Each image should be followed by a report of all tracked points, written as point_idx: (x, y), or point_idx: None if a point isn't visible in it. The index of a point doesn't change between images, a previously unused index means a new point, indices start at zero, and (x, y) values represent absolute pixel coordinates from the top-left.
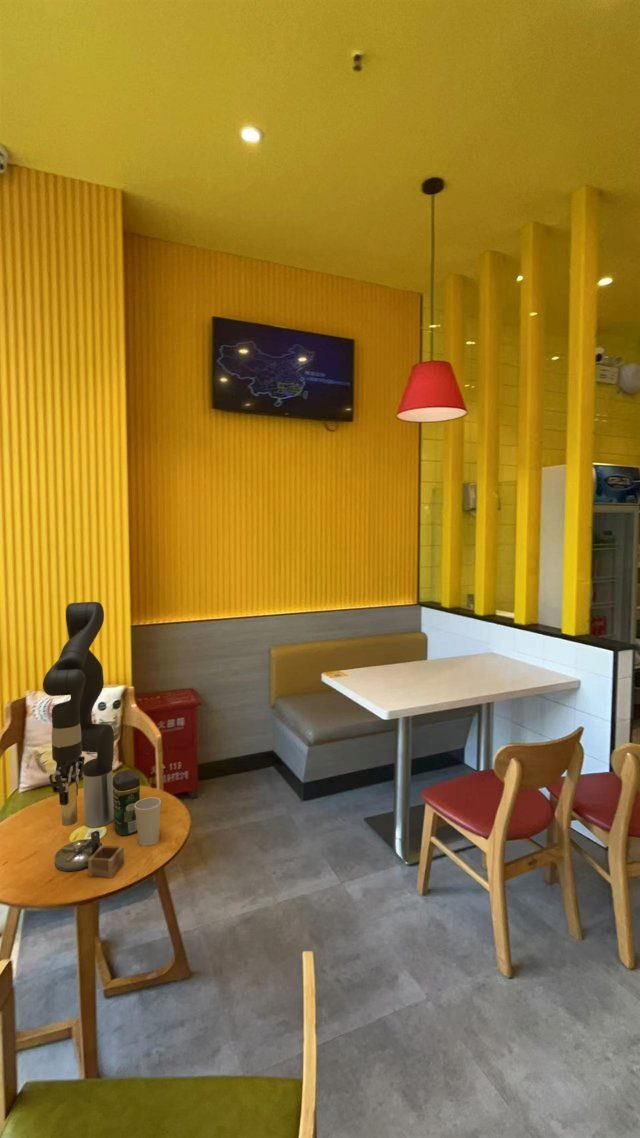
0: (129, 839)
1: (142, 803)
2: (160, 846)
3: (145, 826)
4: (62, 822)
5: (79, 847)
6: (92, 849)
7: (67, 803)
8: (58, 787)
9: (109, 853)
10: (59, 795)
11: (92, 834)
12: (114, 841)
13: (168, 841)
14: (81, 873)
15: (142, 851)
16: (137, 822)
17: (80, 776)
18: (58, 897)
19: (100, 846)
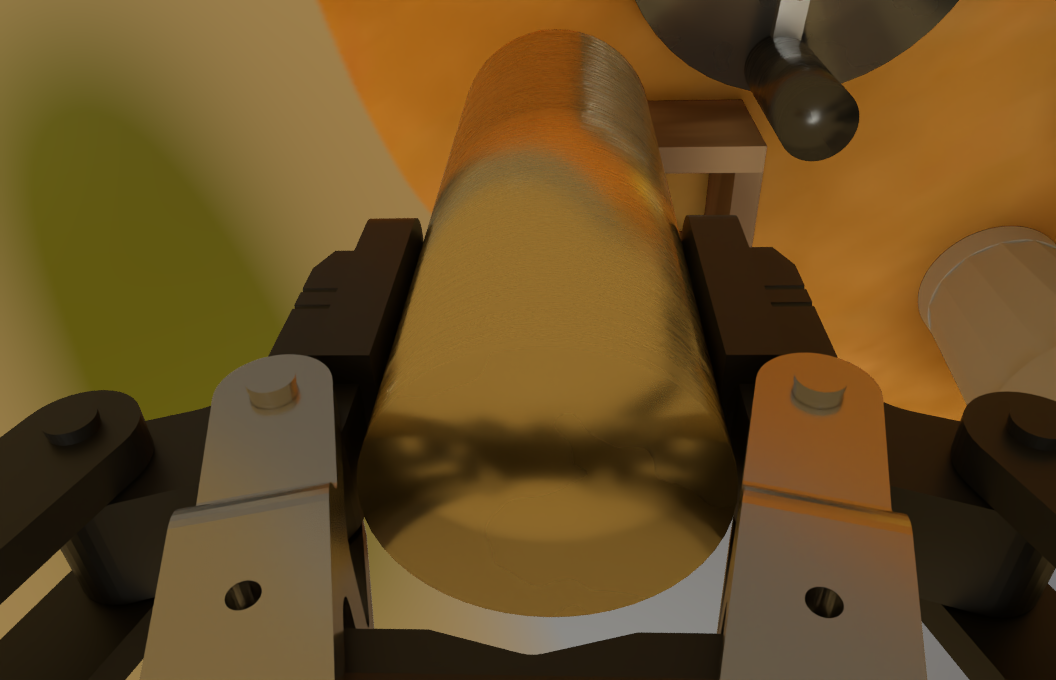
0: (1032, 157)
1: None
2: (896, 374)
3: (966, 381)
4: (472, 87)
5: None
6: (756, 69)
7: None
8: (215, 460)
9: (721, 206)
10: (272, 355)
11: (797, 109)
12: (1028, 54)
13: (947, 396)
14: (603, 27)
15: (851, 300)
16: (1015, 333)
17: (926, 603)
18: (338, 22)
19: (753, 149)
